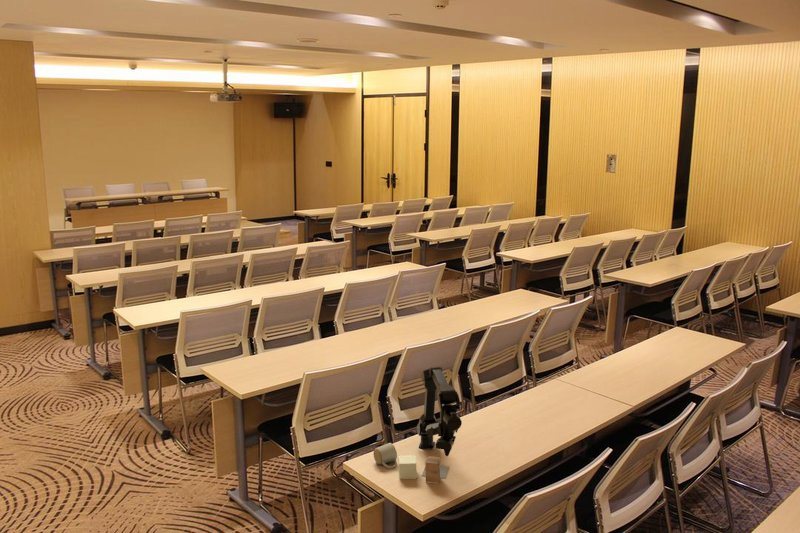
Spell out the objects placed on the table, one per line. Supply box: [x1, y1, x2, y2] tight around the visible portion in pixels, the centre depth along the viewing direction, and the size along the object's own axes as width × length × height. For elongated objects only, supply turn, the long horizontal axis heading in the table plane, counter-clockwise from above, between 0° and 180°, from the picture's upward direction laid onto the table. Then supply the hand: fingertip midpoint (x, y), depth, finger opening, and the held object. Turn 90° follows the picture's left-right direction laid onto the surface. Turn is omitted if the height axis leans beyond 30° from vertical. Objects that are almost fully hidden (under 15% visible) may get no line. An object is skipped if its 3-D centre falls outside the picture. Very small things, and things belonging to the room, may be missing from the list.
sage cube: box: [398, 454, 417, 480], centre depth 283 cm, size 7×7×7 cm
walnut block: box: [424, 455, 441, 484], centre depth 279 cm, size 5×5×9 cm
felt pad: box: [421, 465, 450, 480], centre depth 286 cm, size 10×10×1 cm
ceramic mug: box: [373, 442, 398, 469], centre depth 293 cm, size 11×8×8 cm
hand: (447, 455), depth 275 cm, fingers closed
